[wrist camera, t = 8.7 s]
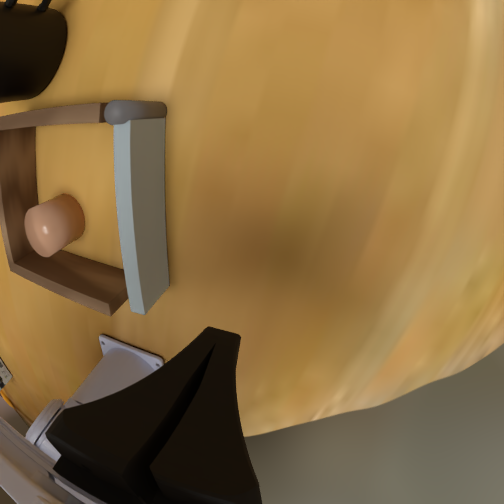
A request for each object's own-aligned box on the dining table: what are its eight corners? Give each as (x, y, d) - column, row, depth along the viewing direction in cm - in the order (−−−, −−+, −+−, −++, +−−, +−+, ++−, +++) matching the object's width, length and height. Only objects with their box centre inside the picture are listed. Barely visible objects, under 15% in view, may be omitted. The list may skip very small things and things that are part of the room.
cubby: (139, 286, 24) (110, 316, 20) (39, 251, 26) (10, 270, 22) (142, 103, 18) (100, 102, 13) (29, 112, 19) (-7, 118, 15)
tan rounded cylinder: (87, 243, 24) (58, 262, 20) (57, 234, 24) (29, 250, 21) (83, 196, 22) (51, 211, 18) (52, 191, 22) (21, 204, 19)
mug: (102, 11, 15) (17, -10, 6) (32, 117, 20) (-45, 134, 11) (63, -23, 13) (-5, -39, 5) (5, 70, 18) (-60, 78, 10)
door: (170, 285, 23) (140, 322, 19) (155, 282, 24) (124, 317, 19) (167, 101, 17) (124, 98, 13) (149, 102, 17) (104, 101, 13)
